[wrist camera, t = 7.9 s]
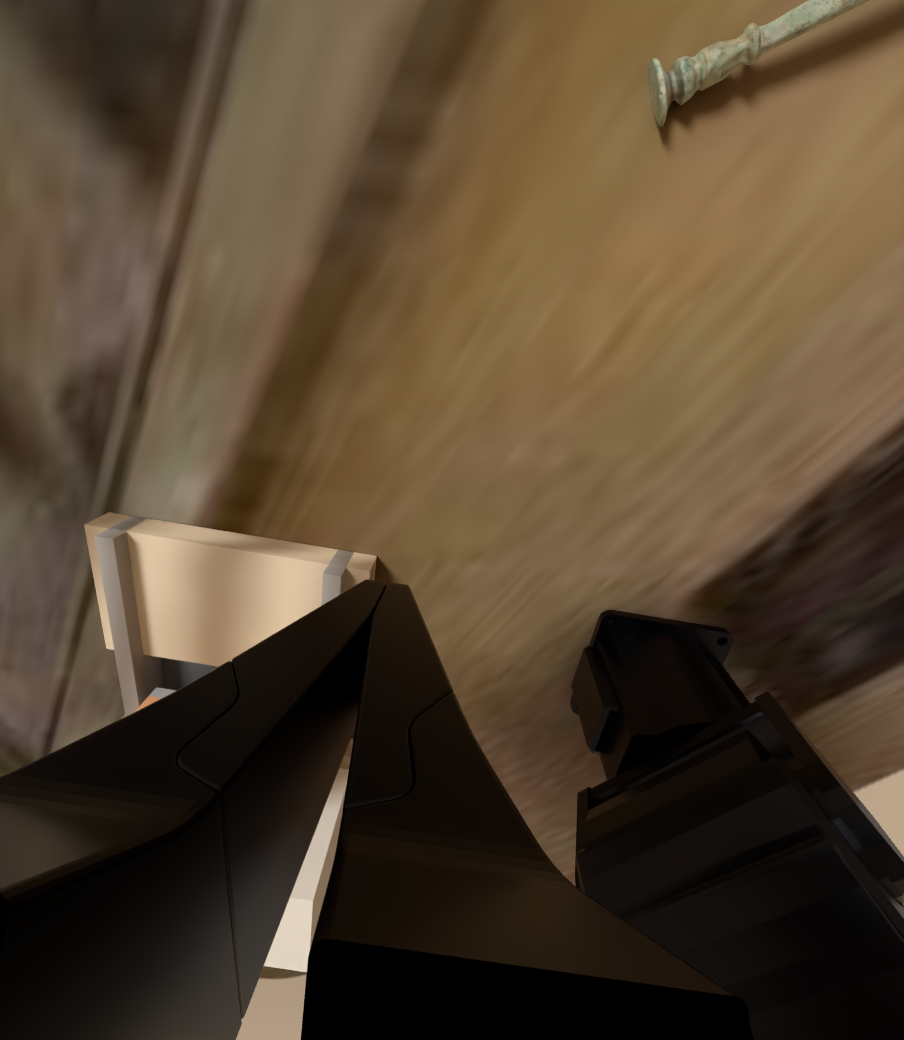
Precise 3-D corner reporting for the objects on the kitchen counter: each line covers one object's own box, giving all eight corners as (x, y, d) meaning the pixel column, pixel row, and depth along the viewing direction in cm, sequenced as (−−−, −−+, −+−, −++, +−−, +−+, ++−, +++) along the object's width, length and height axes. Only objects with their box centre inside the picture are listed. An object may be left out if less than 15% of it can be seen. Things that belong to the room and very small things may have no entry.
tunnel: (350, 769, 26) (312, 901, 20) (344, 837, 28) (308, 972, 22) (121, 733, 26) (14, 855, 20) (134, 804, 28) (42, 932, 22)
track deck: (376, 555, 22) (365, 580, 20) (343, 882, 32) (334, 921, 30) (109, 512, 22) (69, 531, 20) (161, 854, 32) (139, 891, 30)
